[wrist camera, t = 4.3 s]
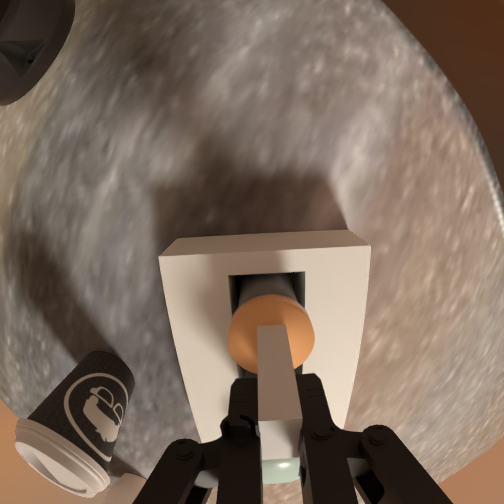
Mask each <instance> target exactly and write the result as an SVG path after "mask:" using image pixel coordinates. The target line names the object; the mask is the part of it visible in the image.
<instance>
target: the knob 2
mask: <svg viewBox="0 0 504 504" xmlns="http://www.w3.org/2000/svg"><path fill="white" fill-rule="evenodd" d="M246 378H258V374H256V373H252V372H250V371H248V370H247V372H246ZM299 467H300V458H299V457H298V458H286V459H271V460H262V477H263V483H264V484H279V483H286V482H291V481H294V480H297V479H300V476H299V477H298V474H299Z"/></svg>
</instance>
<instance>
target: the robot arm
mask: <svg viewBox="0 0 504 504" xmlns="http://www.w3.org/2000/svg"><path fill="white" fill-rule="evenodd" d="M73 17H74V1H73V0H0V105H8V104H11V103H13V102H15V101H17V100H18V99H20V98H21V97H23V96H24V95H25V94H26V93H27V92H28V91H30V90H31V89H32V88H33V87H34V86H35V84H36V83H37V82H38V81H39V80H40V79H41V78H42V76H43V75H44V74H45V73H46V71H47V70H48V68H49V67H50V66H51V64H52V63H53V61H54V60H55V58H56V56H57V55H58V53H59V51H60V49H61V48H62V46H63V44H64V42H65V40H66V38H67V35H68V33H69V30H70V28H71V24H72V21H73ZM257 359H258V378H236V379H235V381H234V382H233V383H232V385H231V388H230V398H229V408H228V416H226V417H225V418H224V419H223V420H222V421H221V424H220V429H221V434H222V436H221V437H220V438H218V439H216V440H214V441H210V442H206V443H201V444H199V443H198V442H196V441H194V440H192V439H179V440H176V441H174V442H172V443H171V444H170V445H169V446H168V447H167V449H166V450H165V452H164V454H163V455H162V457H161V459H160V460H159V462H158V463H157V465H156V467H155V468H154V470H153V471H152V473H151V475H150V476H149V478H148V479H147V481H146V483H145V484H144V486H143V487H142V489H141V491H140V492H139V494H138V495H137V497H136V498H135V500H134V501H133V503H132V504H206V502H207V500H208V498H209V495H210V493H211V491H212V489H213V487H216V486H218V491H217V502H216V504H263V477H262V460H271V459H286V458H298V457H299V458H300V467H299V474H298V477H299V476H300V479H301V488H302V496H303V504H358V500H357V496H356V492H355V488H354V486H355V487H356V489H357V491H358V492H359V494H360V496H361V497H362V499H363V500H364V502H365V504H453V503H452V502H451V500H450V499H449V498H448V497H447V496H446V494H445V493H444V492H443V491H442V490H441V488H440V487H439V486H438V485H437V484H436V482H435V481H434V480H433V479H432V478H431V476H430V475H429V474H428V473H427V472H426V470H425V469H424V468H423V467H422V465H421V464H420V463H419V462H418V461H417V459H416V458H415V457H414V456H413V455H412V453H411V452H410V451H409V450H408V449H407V447H406V446H405V445H404V444H403V443H402V441H401V440H400V439H399V438H398V436H397V435H396V434H395V433H394V432H393V430H391V429H390V428H389V427H387V426H384V425H372V426H369V427H368V428H366V429H364V431H363V432H352V431H346V430H343V429H340V428H339V427H338V426H336V425H335V423H334V422H333V420H332V417H331V413H330V410H329V406H328V402H327V399H326V396H325V392H324V389H323V385H322V381H321V379H320V378H319V377H318V376H317V375H316V374H315V373H308V374H297V375H295V372H294V367H293V361H292V356H291V350H290V345H289V339H288V334H287V329H286V324H279V325H261V326H257Z"/></svg>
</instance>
